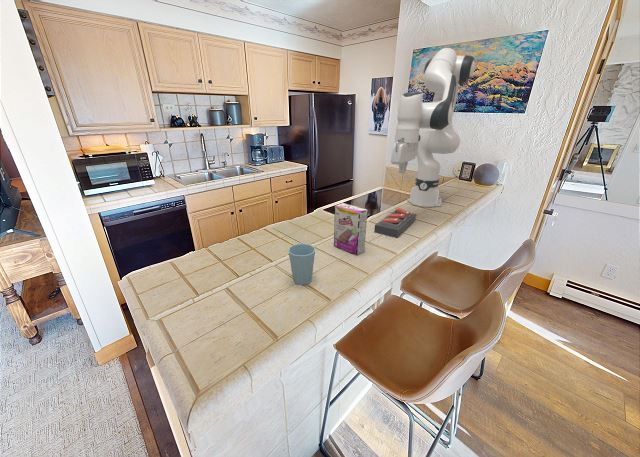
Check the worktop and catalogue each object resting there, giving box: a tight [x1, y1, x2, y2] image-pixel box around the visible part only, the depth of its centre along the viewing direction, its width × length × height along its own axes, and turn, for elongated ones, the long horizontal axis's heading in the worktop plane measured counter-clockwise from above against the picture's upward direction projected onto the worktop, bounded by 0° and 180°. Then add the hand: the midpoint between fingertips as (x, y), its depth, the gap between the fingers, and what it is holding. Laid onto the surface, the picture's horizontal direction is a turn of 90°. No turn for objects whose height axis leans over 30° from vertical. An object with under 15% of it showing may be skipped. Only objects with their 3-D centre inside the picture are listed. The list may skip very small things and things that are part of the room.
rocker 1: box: [383, 218, 399, 223], centre depth 113 cm, size 3×6×1 cm, turn 54°
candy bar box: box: [333, 202, 369, 256], centre depth 96 cm, size 11×5×16 cm, turn 47°
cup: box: [287, 243, 316, 286], centre depth 78 cm, size 8×8×10 cm
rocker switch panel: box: [373, 210, 417, 239], centre depth 120 cm, size 28×10×4 cm, turn 144°
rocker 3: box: [394, 207, 411, 215], centre depth 123 cm, size 3×6×1 cm, turn 54°
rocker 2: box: [389, 213, 405, 218], centre depth 118 cm, size 3×6×1 cm, turn 54°
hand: (402, 172), depth 111 cm, fingers closed
